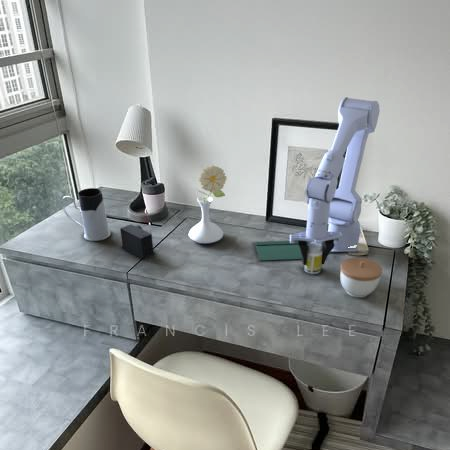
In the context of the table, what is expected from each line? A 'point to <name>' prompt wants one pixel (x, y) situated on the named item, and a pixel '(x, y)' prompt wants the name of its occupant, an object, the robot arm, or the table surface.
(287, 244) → the green board
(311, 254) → the supplement bottle
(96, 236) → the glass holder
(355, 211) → the robot arm
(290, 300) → the table surface
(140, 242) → the digital camera
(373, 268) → the trinket box
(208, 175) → the flower in vase
